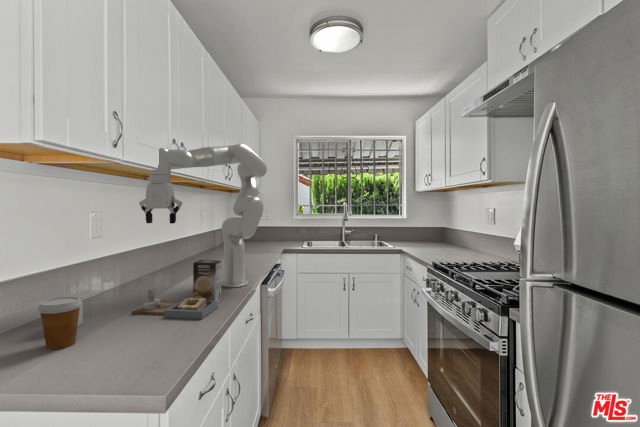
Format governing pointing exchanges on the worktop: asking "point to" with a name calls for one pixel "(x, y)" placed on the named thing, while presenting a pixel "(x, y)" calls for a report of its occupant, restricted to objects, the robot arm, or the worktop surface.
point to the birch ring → (193, 303)
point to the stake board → (157, 311)
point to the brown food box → (207, 279)
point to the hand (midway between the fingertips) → (160, 223)
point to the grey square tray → (191, 311)
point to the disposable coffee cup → (60, 321)
